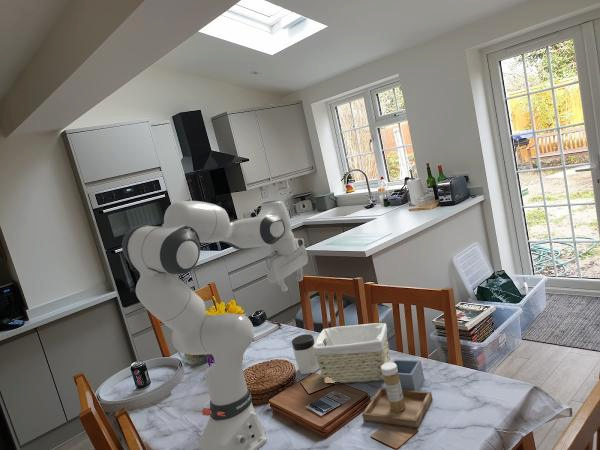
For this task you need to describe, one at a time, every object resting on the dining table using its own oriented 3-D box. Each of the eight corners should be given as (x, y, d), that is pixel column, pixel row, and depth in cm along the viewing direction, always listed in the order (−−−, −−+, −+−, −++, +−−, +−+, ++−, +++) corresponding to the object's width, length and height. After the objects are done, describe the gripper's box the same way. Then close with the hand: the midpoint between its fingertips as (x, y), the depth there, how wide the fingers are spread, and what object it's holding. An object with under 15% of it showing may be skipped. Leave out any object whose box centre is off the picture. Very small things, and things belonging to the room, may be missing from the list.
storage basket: (395, 359, 165) (386, 320, 163) (390, 383, 150) (381, 341, 148) (331, 364, 173) (322, 327, 171) (320, 388, 158) (310, 348, 156)
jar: (309, 376, 167) (301, 345, 166) (294, 372, 173) (286, 342, 172) (325, 365, 173) (318, 335, 171) (310, 361, 179) (303, 332, 177)
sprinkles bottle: (396, 402, 138) (387, 360, 136) (409, 406, 134) (399, 363, 132) (387, 410, 135) (377, 367, 133) (399, 414, 131) (389, 371, 129)
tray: (417, 428, 124) (416, 420, 124) (363, 421, 133) (362, 414, 133) (432, 399, 136) (431, 392, 135) (382, 394, 145) (380, 387, 144)
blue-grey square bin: (415, 394, 140) (411, 375, 139) (388, 392, 145) (384, 373, 144) (424, 379, 147) (420, 360, 146) (398, 377, 152) (394, 359, 151)
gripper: (272, 256, 147) (283, 297, 149) (306, 237, 163) (315, 275, 165) (257, 257, 150) (268, 297, 152) (291, 239, 167) (300, 275, 169)
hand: (292, 285), depth 159 cm, fingers open, 8 cm apart
